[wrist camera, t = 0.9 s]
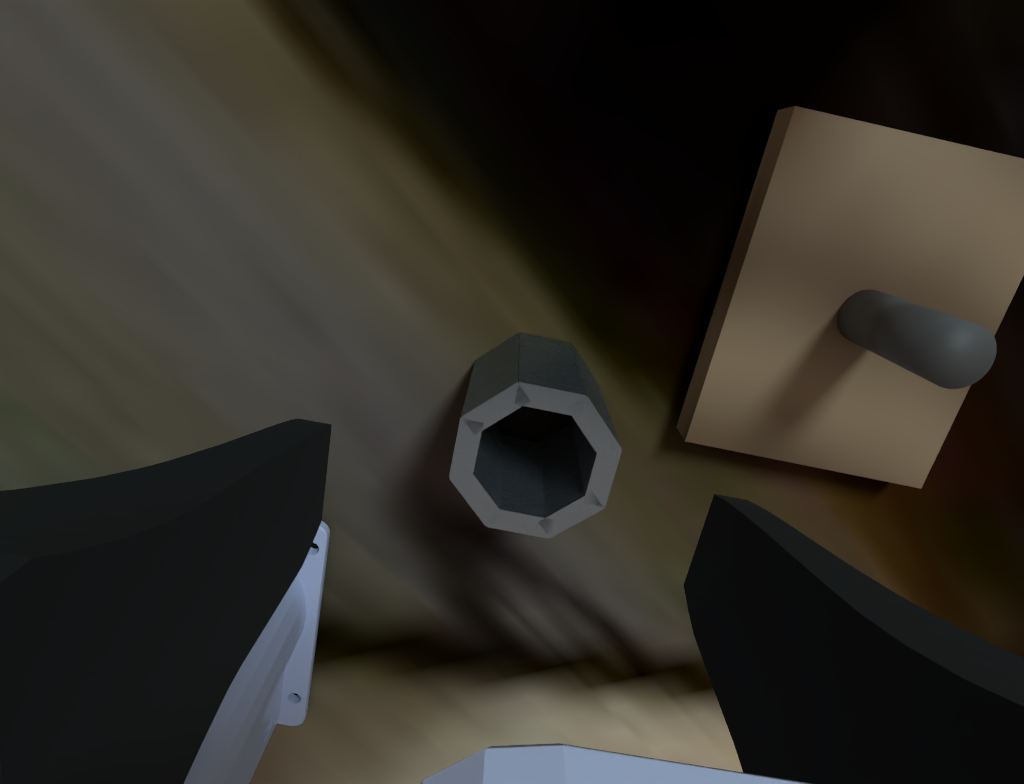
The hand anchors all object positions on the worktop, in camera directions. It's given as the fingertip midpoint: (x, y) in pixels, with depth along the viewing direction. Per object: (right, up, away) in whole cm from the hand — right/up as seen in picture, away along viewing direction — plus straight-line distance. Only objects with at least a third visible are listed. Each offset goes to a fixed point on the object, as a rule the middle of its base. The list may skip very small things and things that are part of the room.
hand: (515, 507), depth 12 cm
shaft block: (+10, +5, +8) cm, 14 cm away
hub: (+1, +2, +9) cm, 9 cm away
